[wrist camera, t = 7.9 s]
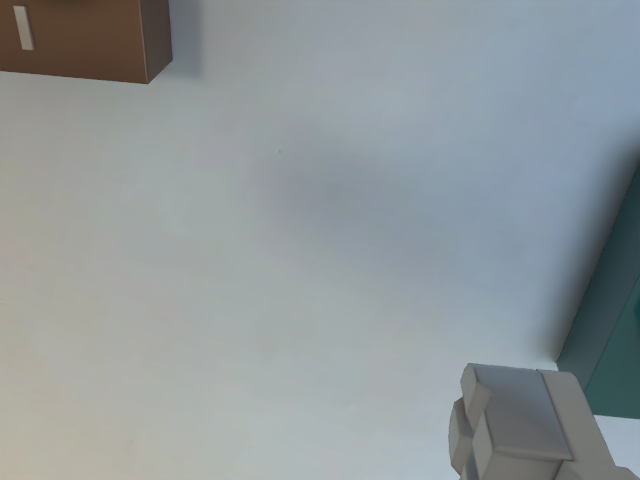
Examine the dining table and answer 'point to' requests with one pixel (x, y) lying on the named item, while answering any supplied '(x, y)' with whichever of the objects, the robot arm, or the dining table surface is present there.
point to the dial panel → (86, 38)
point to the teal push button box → (611, 321)
